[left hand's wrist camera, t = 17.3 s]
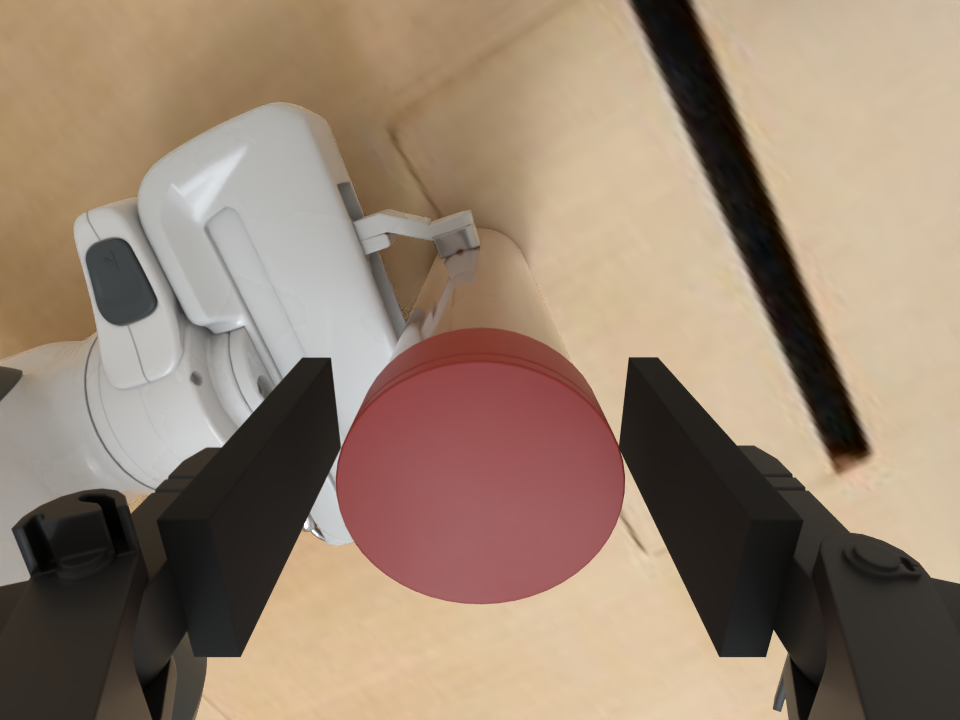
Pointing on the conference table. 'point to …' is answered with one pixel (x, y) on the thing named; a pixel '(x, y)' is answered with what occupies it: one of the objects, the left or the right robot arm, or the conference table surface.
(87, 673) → the left robot arm
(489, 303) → the jar
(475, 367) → the lid
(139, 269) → the right robot arm
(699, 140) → the conference table surface
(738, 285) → the conference table surface
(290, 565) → the conference table surface
